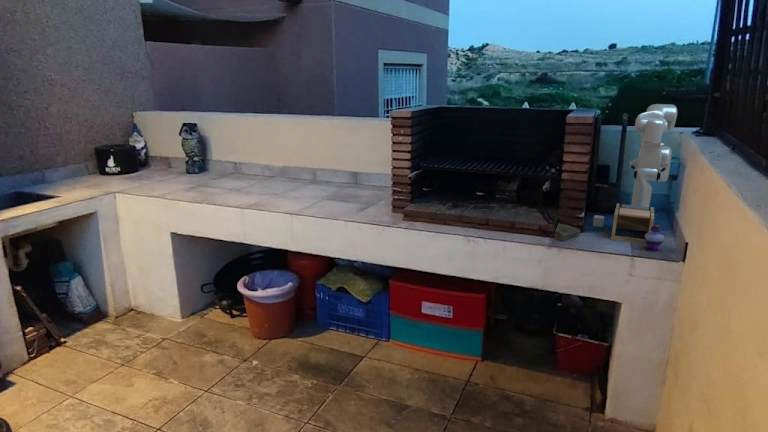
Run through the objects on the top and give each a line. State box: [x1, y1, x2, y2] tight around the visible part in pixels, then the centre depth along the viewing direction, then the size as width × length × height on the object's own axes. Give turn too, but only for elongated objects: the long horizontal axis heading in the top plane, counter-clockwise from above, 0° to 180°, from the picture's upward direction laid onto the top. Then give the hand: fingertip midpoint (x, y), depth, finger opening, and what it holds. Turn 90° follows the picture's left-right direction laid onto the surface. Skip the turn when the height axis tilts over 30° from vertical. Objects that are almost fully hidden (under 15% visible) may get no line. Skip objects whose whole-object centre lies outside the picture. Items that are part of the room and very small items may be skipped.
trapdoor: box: [619, 203, 650, 219], centre depth 260 cm, size 18×14×4 cm
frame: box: [610, 203, 655, 245], centre depth 261 cm, size 25×18×14 cm
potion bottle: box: [644, 224, 665, 252], centre depth 242 cm, size 9×9×12 cm
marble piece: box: [553, 222, 582, 242], centre depth 264 cm, size 17×15×4 cm
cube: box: [592, 214, 605, 228], centre depth 280 cm, size 5×5×5 cm
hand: (646, 179), depth 249 cm, fingers open, 9 cm apart
